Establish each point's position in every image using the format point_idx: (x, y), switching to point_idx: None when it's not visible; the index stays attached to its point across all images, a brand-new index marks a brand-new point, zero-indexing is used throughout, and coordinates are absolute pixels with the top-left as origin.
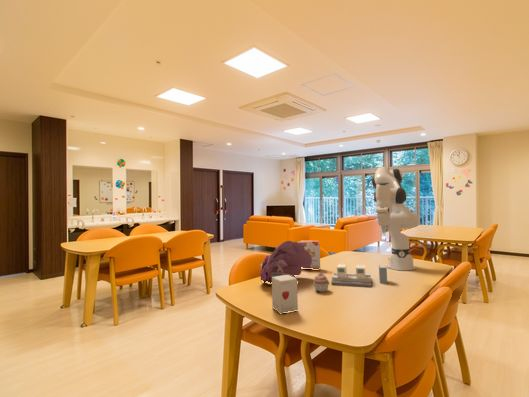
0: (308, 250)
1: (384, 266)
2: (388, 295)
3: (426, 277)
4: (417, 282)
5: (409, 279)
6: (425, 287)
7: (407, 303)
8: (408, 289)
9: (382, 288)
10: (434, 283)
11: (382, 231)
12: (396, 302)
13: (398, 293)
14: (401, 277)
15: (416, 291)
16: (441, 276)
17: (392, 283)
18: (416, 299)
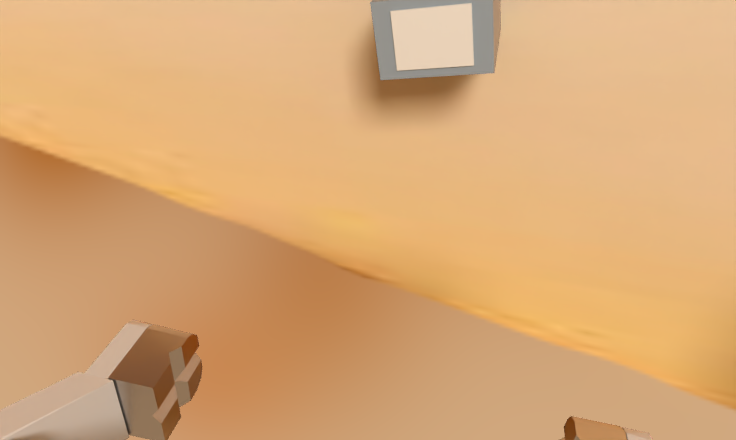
0: None
1: (447, 58)
2: (129, 47)
3: (667, 315)
4: (504, 241)
5: (585, 204)
6: (392, 262)
7: (65, 140)
8: (310, 170)
9: (259, 2)
10: (502, 321)
11: (108, 353)
12: (44, 90)
13: (199, 107)
14: (650, 154)
15: (288, 206)
16: (707, 395)
17: None
18: (149, 187)
